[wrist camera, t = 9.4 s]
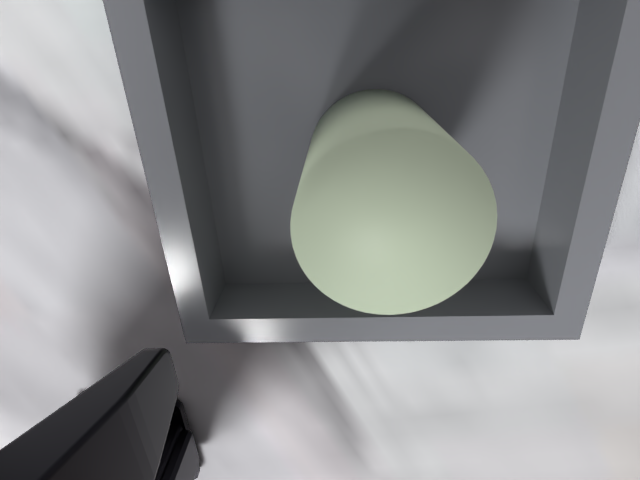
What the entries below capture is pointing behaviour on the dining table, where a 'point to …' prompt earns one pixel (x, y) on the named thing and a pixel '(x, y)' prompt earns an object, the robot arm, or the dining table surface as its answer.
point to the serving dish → (427, 92)
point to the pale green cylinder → (389, 207)
